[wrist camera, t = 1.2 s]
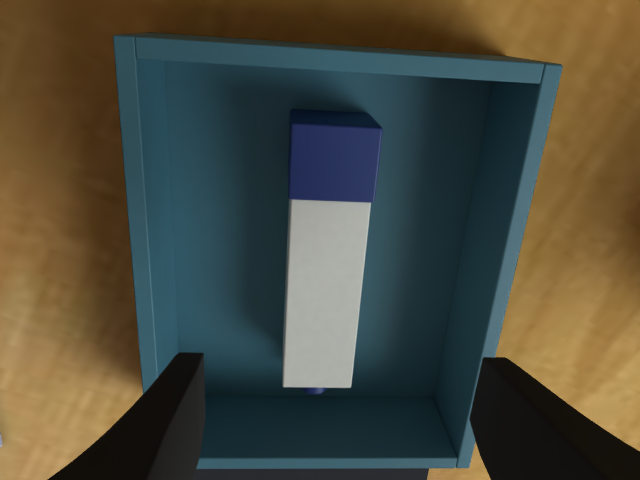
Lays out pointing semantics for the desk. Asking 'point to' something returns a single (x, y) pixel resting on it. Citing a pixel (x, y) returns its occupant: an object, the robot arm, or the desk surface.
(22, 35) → the desk surface
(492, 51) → the desk surface
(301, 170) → the marker
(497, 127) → the storage box
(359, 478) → the mat
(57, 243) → the desk surface
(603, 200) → the desk surface
